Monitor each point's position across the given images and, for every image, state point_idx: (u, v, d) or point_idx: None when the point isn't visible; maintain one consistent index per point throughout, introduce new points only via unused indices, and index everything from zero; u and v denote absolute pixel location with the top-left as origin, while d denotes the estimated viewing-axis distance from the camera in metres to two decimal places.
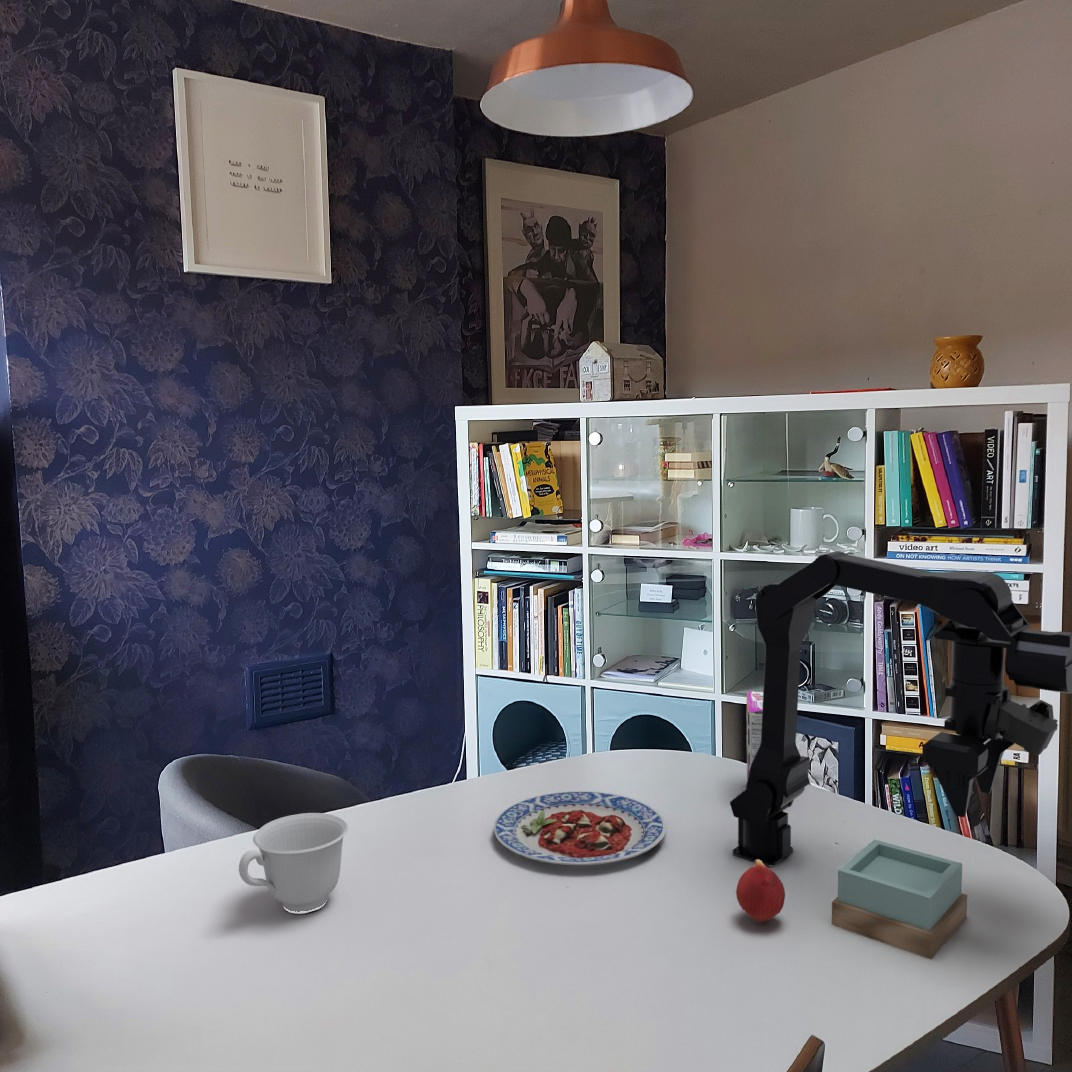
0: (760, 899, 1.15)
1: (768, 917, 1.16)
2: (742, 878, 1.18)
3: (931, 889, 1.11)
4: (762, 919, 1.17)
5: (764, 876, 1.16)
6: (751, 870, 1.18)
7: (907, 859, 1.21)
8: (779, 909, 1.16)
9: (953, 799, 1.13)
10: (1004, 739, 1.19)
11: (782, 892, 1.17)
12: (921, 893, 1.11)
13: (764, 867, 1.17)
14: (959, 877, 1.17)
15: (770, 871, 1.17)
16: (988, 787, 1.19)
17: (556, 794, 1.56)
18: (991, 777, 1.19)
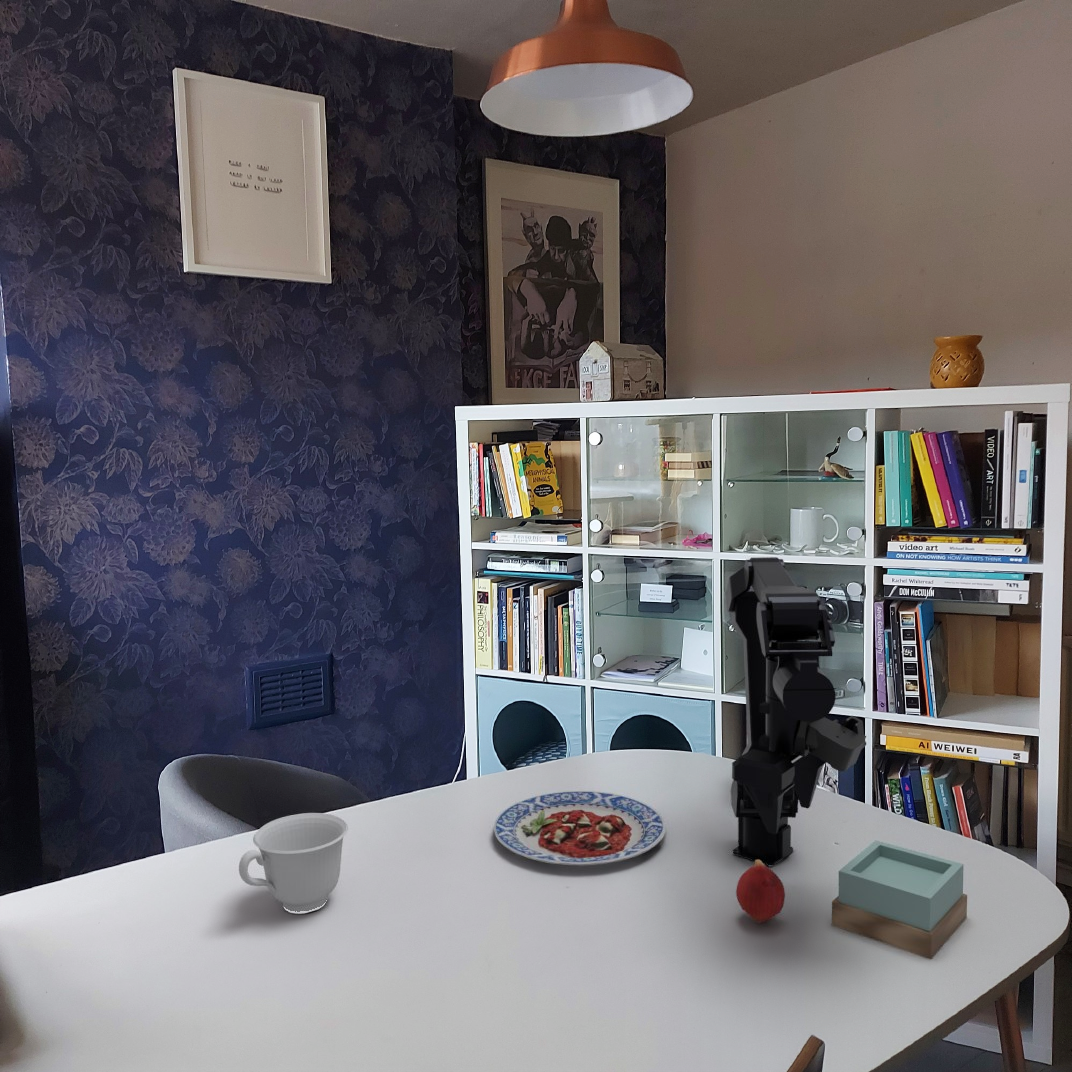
0: (760, 899, 1.15)
1: (768, 917, 1.16)
2: (742, 878, 1.18)
3: (932, 890, 1.11)
4: (762, 919, 1.17)
5: (764, 876, 1.16)
6: (751, 870, 1.18)
7: (909, 860, 1.21)
8: (779, 909, 1.16)
9: (765, 816, 1.13)
10: None
11: (782, 892, 1.17)
12: (921, 894, 1.10)
13: (764, 867, 1.17)
14: (961, 877, 1.17)
15: (770, 871, 1.17)
16: (807, 802, 1.20)
17: (556, 794, 1.56)
18: (810, 792, 1.20)
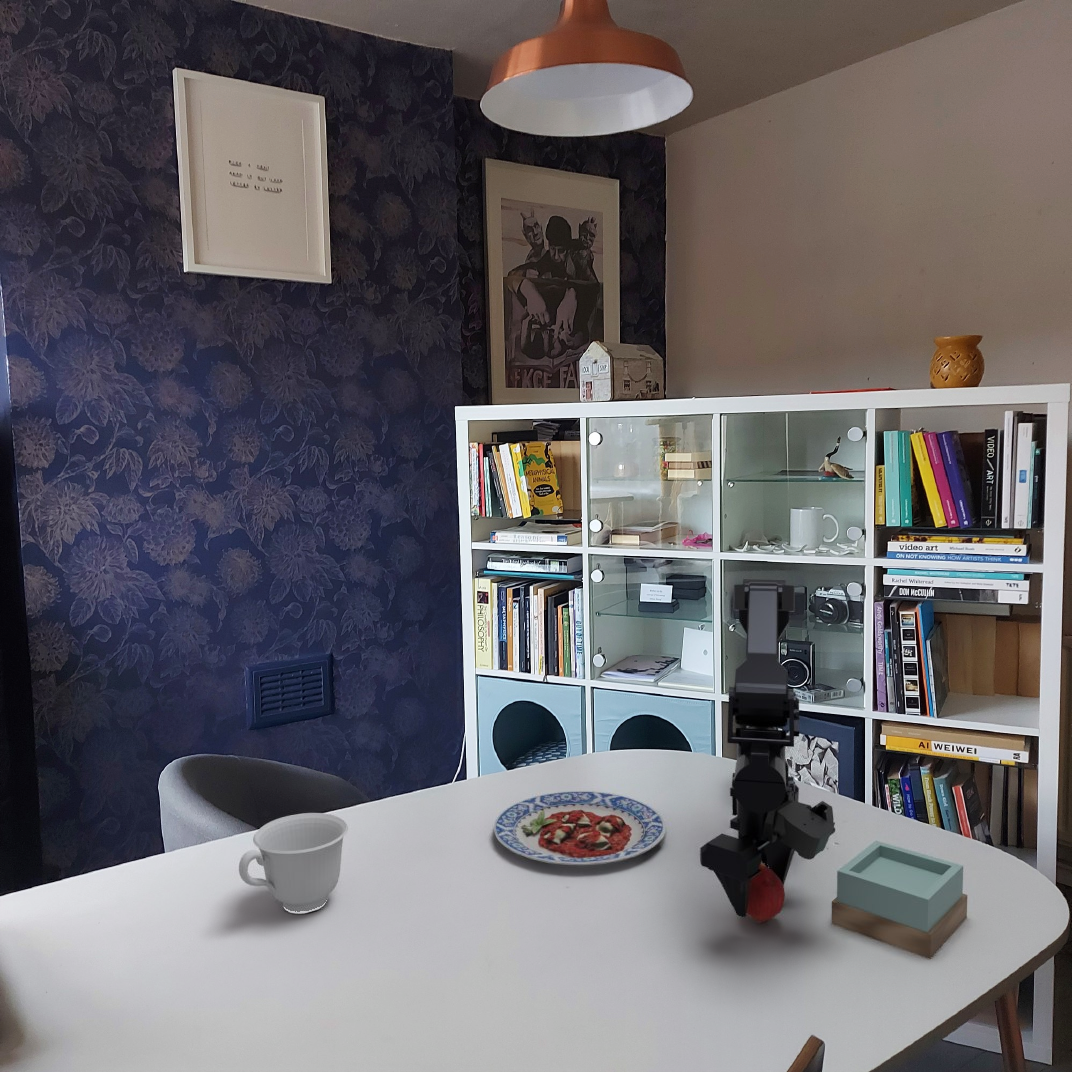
0: (760, 899, 1.15)
1: (768, 917, 1.16)
2: None
3: (930, 891, 1.11)
4: (762, 919, 1.17)
5: (764, 876, 1.16)
6: None
7: (909, 861, 1.21)
8: (779, 909, 1.16)
9: (733, 900, 1.14)
10: None
11: (782, 892, 1.17)
12: (919, 895, 1.10)
13: (764, 867, 1.17)
14: (960, 879, 1.17)
15: (770, 871, 1.17)
16: None
17: (556, 794, 1.56)
18: (783, 873, 1.21)
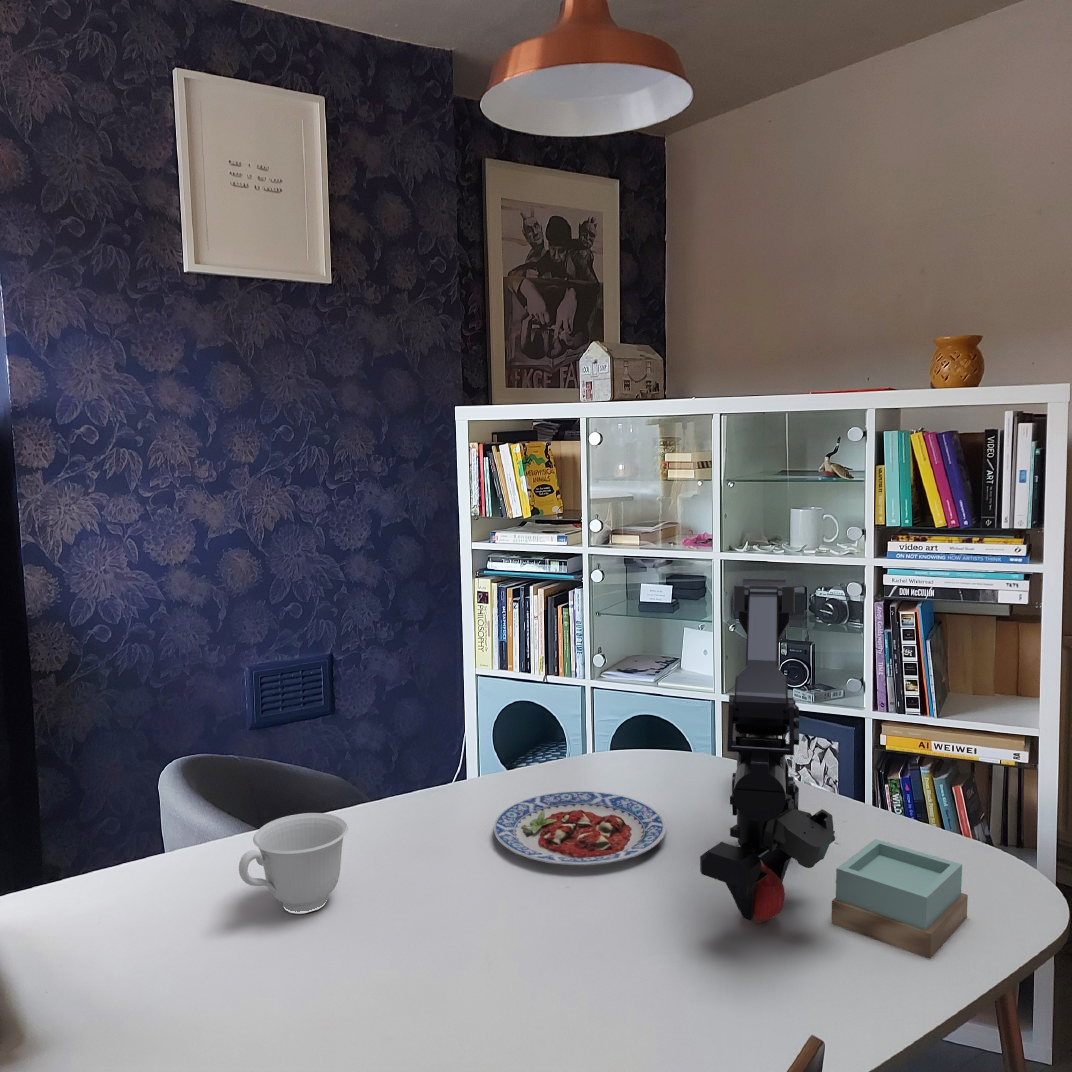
0: (760, 899, 1.15)
1: (768, 917, 1.16)
2: None
3: (929, 889, 1.12)
4: (762, 919, 1.17)
5: None
6: None
7: (908, 859, 1.21)
8: (779, 909, 1.16)
9: (740, 903, 1.16)
10: None
11: (782, 892, 1.17)
12: (918, 893, 1.11)
13: (764, 867, 1.17)
14: (959, 877, 1.17)
15: (770, 871, 1.17)
16: None
17: (556, 794, 1.56)
18: None
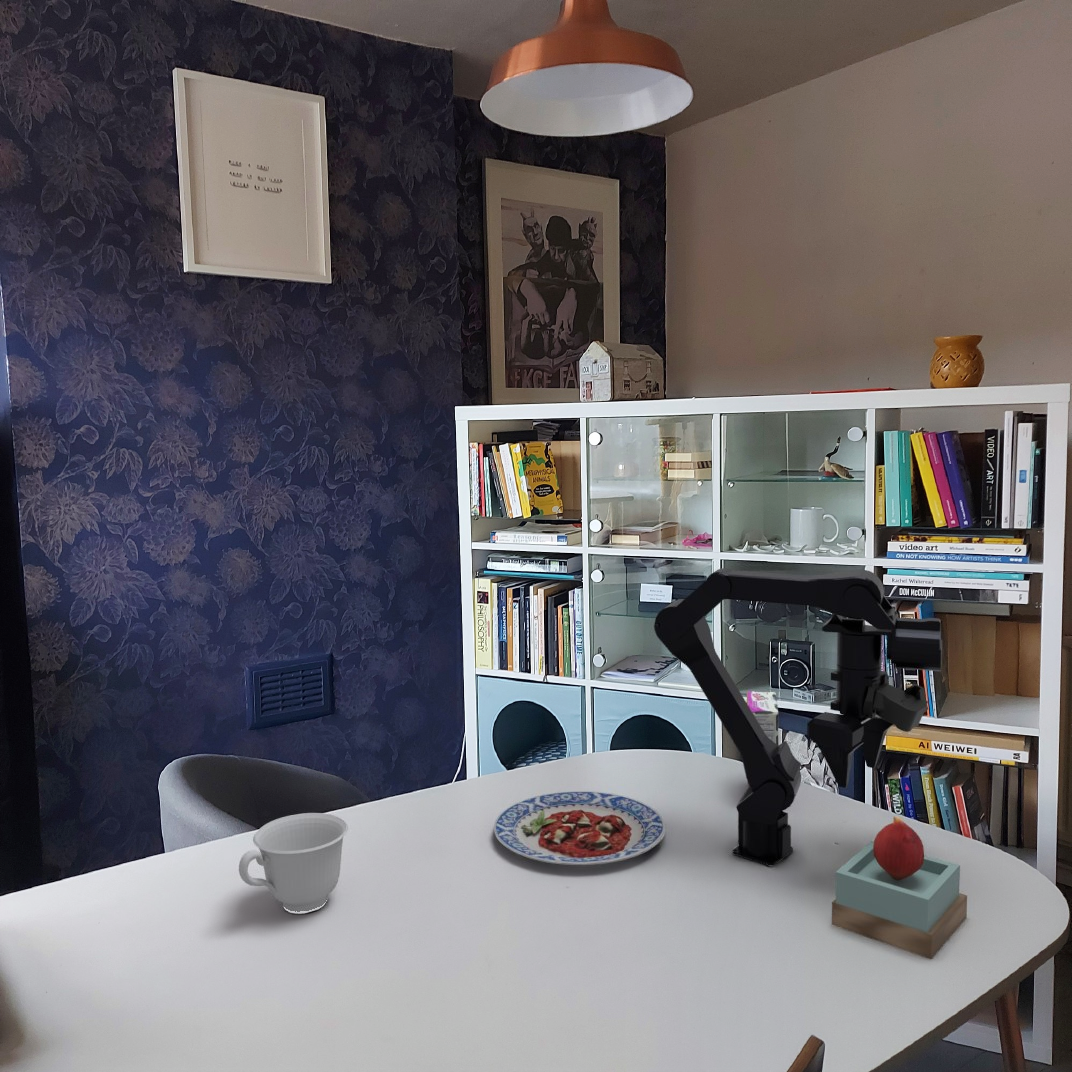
0: (901, 855, 1.14)
1: (908, 874, 1.15)
2: (880, 835, 1.17)
3: (929, 891, 1.11)
4: (901, 876, 1.15)
5: (905, 833, 1.15)
6: (890, 827, 1.16)
7: None
8: (919, 866, 1.15)
9: (836, 771, 1.27)
10: None
11: (922, 849, 1.15)
12: (919, 895, 1.10)
13: (903, 824, 1.16)
14: (957, 878, 1.17)
15: (909, 828, 1.16)
16: (873, 762, 1.33)
17: (556, 794, 1.56)
18: (875, 753, 1.33)
